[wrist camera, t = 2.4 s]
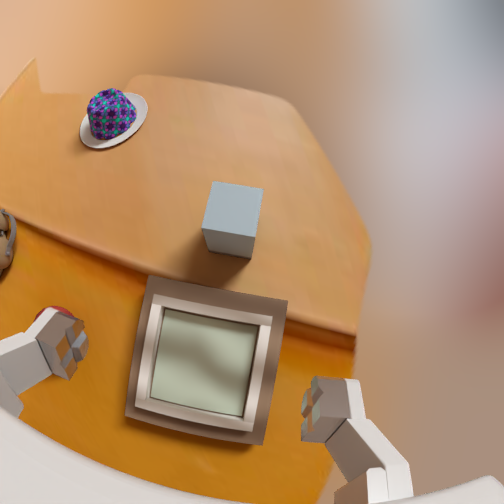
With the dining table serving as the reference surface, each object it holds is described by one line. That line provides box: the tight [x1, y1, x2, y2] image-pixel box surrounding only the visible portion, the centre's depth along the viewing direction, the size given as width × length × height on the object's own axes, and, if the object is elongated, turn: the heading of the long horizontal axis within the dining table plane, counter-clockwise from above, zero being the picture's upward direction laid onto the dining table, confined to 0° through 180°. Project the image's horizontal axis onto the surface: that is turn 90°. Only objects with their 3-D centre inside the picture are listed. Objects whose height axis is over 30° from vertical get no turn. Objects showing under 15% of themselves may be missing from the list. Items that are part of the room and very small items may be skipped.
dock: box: [125, 275, 288, 445], centre depth 29 cm, size 16×15×4 cm
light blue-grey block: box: [202, 181, 264, 259], centre depth 31 cm, size 5×5×8 cm
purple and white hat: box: [80, 88, 147, 148], centre depth 37 cm, size 12×12×5 cm
